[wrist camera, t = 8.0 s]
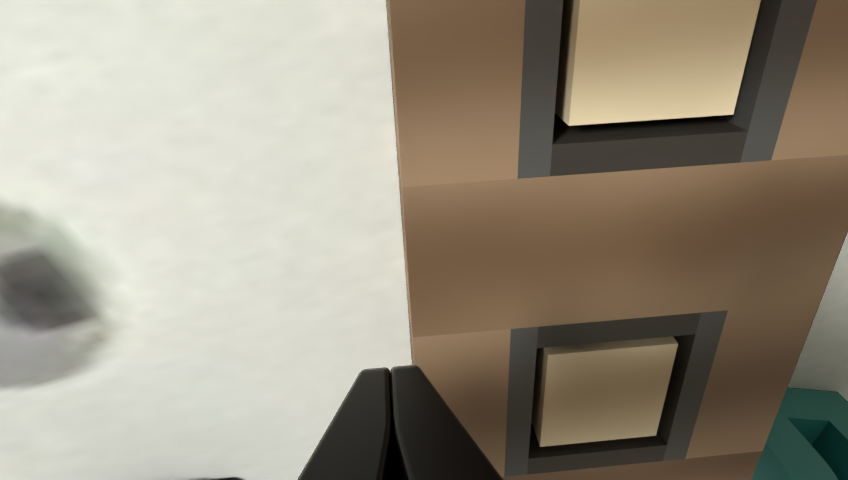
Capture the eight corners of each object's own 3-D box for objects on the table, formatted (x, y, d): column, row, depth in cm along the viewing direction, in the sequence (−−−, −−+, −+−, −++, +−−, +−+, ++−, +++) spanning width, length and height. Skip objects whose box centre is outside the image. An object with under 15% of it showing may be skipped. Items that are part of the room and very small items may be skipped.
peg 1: (632, 68, 18) (733, 114, 13) (513, 75, 17) (568, 126, 12) (651, -71, 16) (780, -81, 11) (518, -65, 16) (586, -72, 11)
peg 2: (594, 330, 23) (656, 435, 18) (503, 338, 23) (540, 447, 18) (606, 250, 21) (678, 343, 16) (506, 258, 21) (548, 355, 16)
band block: (668, 379, 25) (746, 493, 20) (414, 402, 24) (425, 526, 19) (813, -228, 14) (1065, -330, 9) (370, -212, 14) (368, -312, 9)
